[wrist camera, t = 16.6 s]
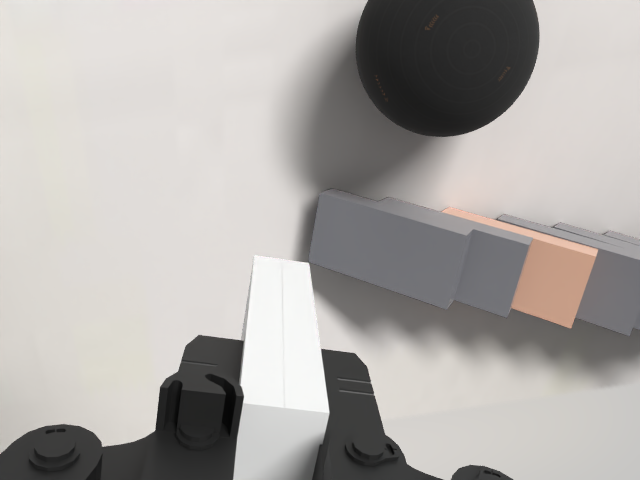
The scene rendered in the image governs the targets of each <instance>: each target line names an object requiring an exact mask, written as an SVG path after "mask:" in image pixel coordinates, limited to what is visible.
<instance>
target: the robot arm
mask: <svg viewBox="0 0 640 480" xmlns="http://www.w3.org/2000/svg"><path fill="white" fill-rule="evenodd" d="M370 383H371V380H370V376H369V373H368V369H367V366H366V365H365V364H364V363H363V362H362V361H361V360H360V359H359V357H358V356H357V355H356V354H355V353H349V352H341V351H333V350H325V349H321V346H320V339H319V332H318V324H317V317H316V310H315V302H314V295H313V288H312V280H311V273H310V266H309V263H305V262H298V261H292V260H285V259H278V258H271V257H264V256H257V255H254V261H253V267H252V273H251V280H250V286H249V292H248V299H247V305H246V311H245V318H244V324H243V330H242V337H241V340H234V339H226V338H218V337H210V336H202V335H198V336H197V337H196V338H195V339H193V340H192V341H191V342H190V343H189V344H187V345H186V347H185V350H184V354H183V357H182V361H181V364H180V367H179V370H178V372H177V373H175V374H173V375H172V376H170V377H168V378H166V380H165V381H164V382H163V384H162V385H161V387H160V394H159V403H158V412H157V421H156V430H155V431H154V432H153V433H151V434H150V435H148V436H147V437H145V438H142V439H140V440H137V441H135V442H131V443H126V444H121V445H114V446H106V447H102V444H101V441H100V440H99V439H98V437H97V436H96V435H95V434H94V433H93V432H91V431H89V430H87V429H85V428H82V427H80V426H73V425H65V424H61V425H52V426H45V427H42V428H39V429H36V430H33V431H30V432H28V433H26V434H25V435H23V436H22V437H20V438H19V439H17V440H16V441H14V442H13V443H12V444H11V445H10V446H9V447H8V448H7V449H6V450H5V451H3V452H2V453H1V454H0V480H443V479H440V478H436V477H434V476H431V475H428V474H425V473H423V472H421V471H418V470H416V469H414V468H412V467H411V466H409V465H407V463H406V460H405V456H404V454H403V453H402V451H401V449H400V447H399V446H398V445H397V444H396V443H395V442H394V441H393V440H392V439H390V438H389V437H388V436H386V435H385V433H384V429H383V425H382V421H381V418H380V414H379V410H378V406H377V403H376V399H375V396H374V391H373V388H372V384H370ZM451 480H513V479H511V478H510V477H508V476H506V475H505V474H503V473H501V472H500V471H497V470H494V469H491V468H488V467H485V466H475V465H469V466H465V467H462V468H459V469H458V470H457V471H456V472H455V473H454V475H453V476H452V479H451Z"/></svg>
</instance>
